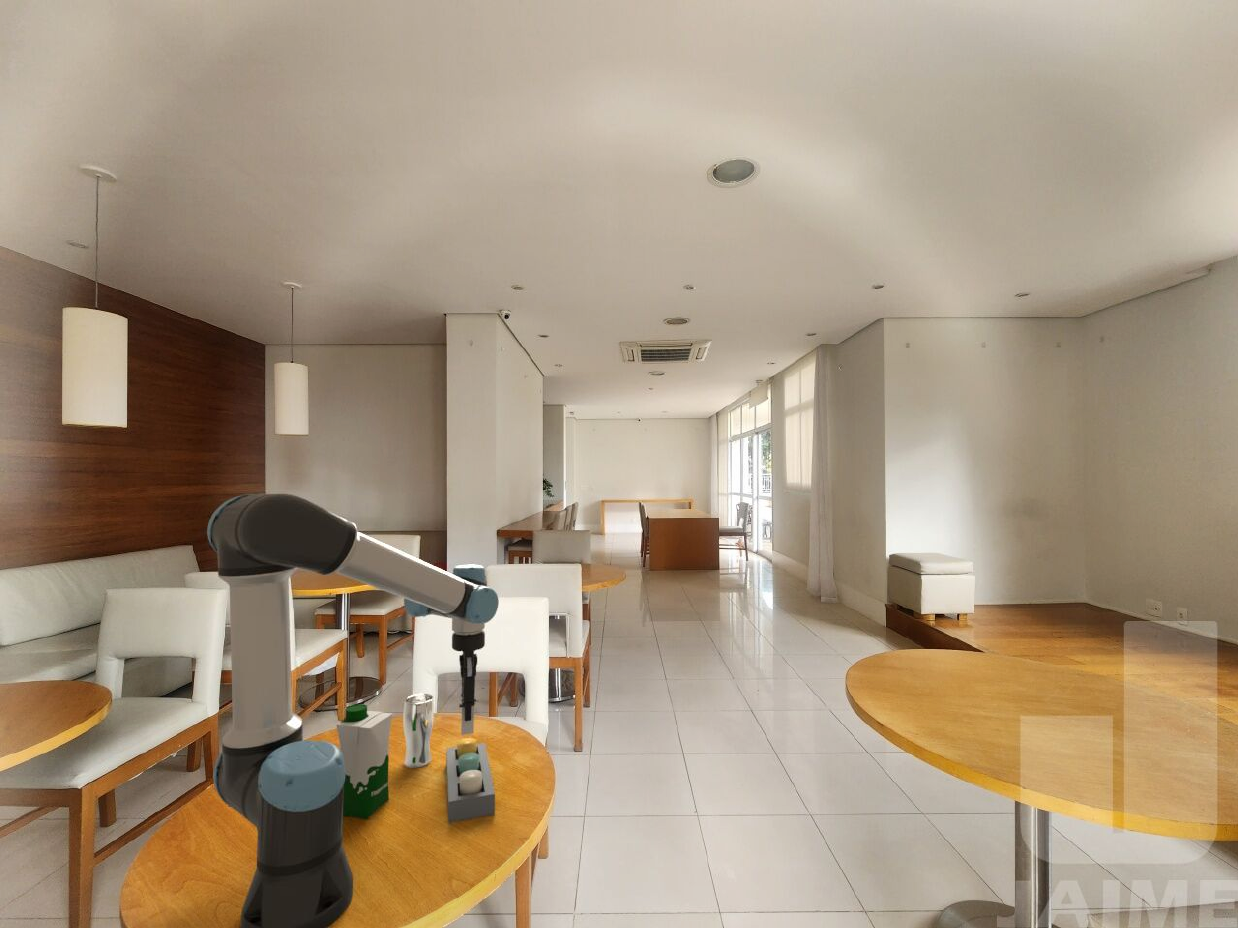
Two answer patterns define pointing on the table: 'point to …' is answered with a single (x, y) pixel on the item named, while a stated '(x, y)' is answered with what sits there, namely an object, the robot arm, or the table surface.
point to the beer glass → (418, 729)
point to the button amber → (466, 746)
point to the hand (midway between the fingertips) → (467, 732)
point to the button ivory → (470, 782)
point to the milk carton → (364, 760)
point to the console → (470, 803)
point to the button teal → (468, 762)
